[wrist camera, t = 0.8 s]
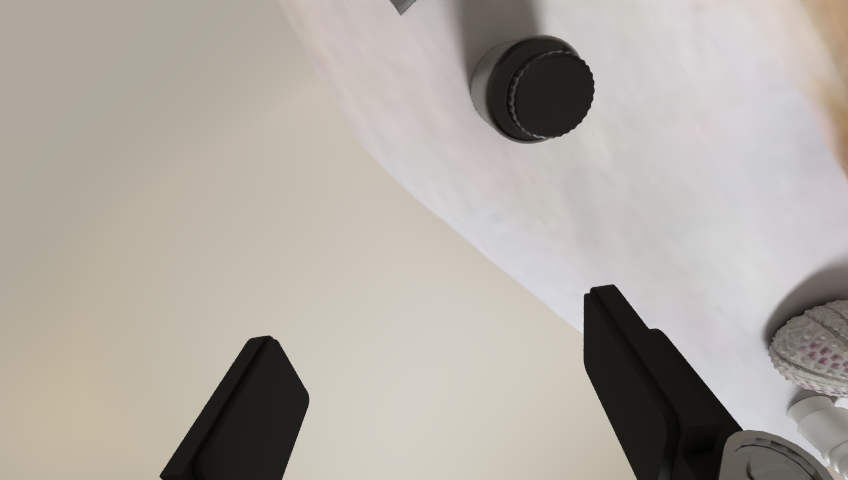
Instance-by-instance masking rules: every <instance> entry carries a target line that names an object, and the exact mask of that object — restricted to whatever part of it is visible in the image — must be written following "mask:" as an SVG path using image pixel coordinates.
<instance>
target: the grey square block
mask: <svg viewBox="0 0 848 480" xmlns="http://www.w3.org/2000/svg"><path fill="white" fill-rule="evenodd" d="M390 1H391V2H392V4H393V5H394V7H395V8H396V9H397V11H398V12H399V14H400V15H402V14H403V13H404V12H405V11H406V10H407V9H408V8H409V7H410V6H411V5H412V4H413V3H414V2H415V1H416V0H390Z"/></svg>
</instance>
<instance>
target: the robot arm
mask: <svg viewBox="0 0 848 480" xmlns="http://www.w3.org/2000/svg"><path fill="white" fill-rule="evenodd" d="M584 365H585V369H586V372H587V374H588V376H589V378H590V380H591V383H592V385H593V387H594V389H595V391H596V393H597V395H598V398H599V400H600V402H601V404H602V406H603V408H604V410H605V412H606V415H607V417H608V419H609V421H610V423H611V425H612V427H613V429H614V431H615V434H616V436H617V438H618V440H619V442H620V444H621V446H622V448H623V451H624V453H625V455H626V457H627V459H628V461H629V463H630V465H631V467H632V470H633V472H634V474H635V476H636V478H637V480H834V479H833V478H832V476H831V475H830V473H829V472H828V470H827V469H826V468H825V467H824V466H823V465H822V464H821V463H820V462H819V461H818V460H817V459H816V458H815V457H814V456H812V455H811V454H809V453H808V452H807V451H805V450H804V449H802V448H801V447H799V446H798V445H796V444H794V443H792V442H790V441H788V440H786V439H784V438H782V437H780V436H777V435H773V434H770V433H767V432H764V431H754V430H745V431H743V429H742V428H741V427H740V426H739V424H738V423H737V422H736V421H735V419H734V418H733V417H732V416H731V415H730V413H729V412H728V411H727V410H726V408H725V407H724V406H723V405H722V404H721V402H720V401H719V400H718V399H717V397H716V396H715V395H714V394H713V392H712V391H711V390H710V389H709V388H708V386H707V385H706V384H705V383H704V381H703V380H702V379H701V378H700V376H699V375H698V374H697V373H696V372H695V370H694V369H693V368H692V367H691V365H690V364H689V363H688V362H687V361H686V359H685V358H684V357H683V356H682V354H681V353H680V352H679V351H678V349H677V348H676V347H675V346H674V345H673V343H672V342H671V341H670V340H669V338H668V337H667V336H666V335H665V334H664V333H663V332H662V331H661V330H659V329H649V328H648V327H647V326H646V325H645V323H644V322H643V321H642V319H641V318H640V317H639V316H638V314H637V313H636V312H635V310H634V309H633V308H632V306H631V305H630V304H629V303H628V301H627V300H626V299H625V297H624V296H623V295H622V293H621V292H620V291H619V290H618V288H617V287H616V286H615V285H613V284H612V285H605V286H598V287H592V288H591V289H590V293H587V294H585V295H584ZM308 405H309V395H308V392H307V391H306V389H305V387H304V385H303V384H302V382H301V380H300V378H299V377H298V375H297V373H296V371H295V370H294V368H293V366H292V364H291V363H290V361H289V359H288V357H287V356H286V354H285V352H284V351H283V349H282V347H281V346H280V344H279V342H278V341H277V340H276V339H273V337H271V336H262V337H256V338H251V339H249V340H248V341H247V343H246V344H245V346H244V347H243V349H242V350H241V352H240V353H239V355H238V357H237V358H236V359H235V361H234V363H233V364H232V366H231V367H230V369H229V370H228V372H227V373H226V375H225V376H224V378H223V380H222V381H221V382H220V384H219V385H218V387H217V389H216V390H215V392H214V393H213V395H212V396H211V398H210V400H209V401H208V402H207V404H206V405H205V407H204V409H203V410H202V412H201V413H200V415H199V416H198V418H197V419H196V421H195V422H194V424H193V425H192V427H191V428H190V430H189V431H188V433H187V434H186V436H185V438H184V439H183V441H182V442H181V444H180V445H179V447H178V448H177V450H176V451H175V453H174V454H173V456H172V458H171V459H170V461H169V462H168V464H167V465H166V467H165V468H164V470H163V471H162V473H161V474H160V478H161V479H162V480H282V478H283V475H284V472H285V469H286V467H287V464H288V461H289V458H290V455H291V453H292V450H293V447H294V444H295V441H296V439H297V436H298V433H299V431H300V428H301V425H302V422H303V419H304V417H305V414H306V411H307V408H308Z"/></svg>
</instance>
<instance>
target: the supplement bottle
mask: <svg viewBox="0 0 848 480" xmlns="http://www.w3.org/2000/svg"><path fill="white" fill-rule="evenodd" d="M594 91H595V89H594V80H593V74H592V72H590V68H589V66H588V65H586V63H585V61H584V60H582V59H581V58H580V56H579V55H578V53H577V52H576V50H575V49H574V48H573V47H572V46H571V45H569V44H568V43H567V42H565V41H564V40H562V39H560V38H557V37H554V36H548V35H536V36H530V37H526V38H522V39H518V40H515V41H511V42H507V43H504V44H501V45H499V46H497V47H495V48H493V49H492V50H490V51H489V52H488V53H487V54H486V55H485V56H484V57H483V58H482V59H481V60H480V62H479V63H478V65H477V66H476V68H475V71H474V73H473V76H472V80H471V98H472V102H473V105H474V107H475V109H476V111H477V113H478V114H479V115H480V116H481V118H482V119H483V120H485V121H486V122H487V123H488V124H489V125H490V126H491V127H493V128H494V129H495V130H496V131H497V132H498V133H499V134H501V135H502V136H504V137H505V138H507V139H509V140H511V141H514V142H517V143H523V144H533V143H539V142H543V141H546V140H548V139H550V138H552V139H553V138H555V137H561V136H562V135H563V134H566V133H569V132H570V130H572V129H575V128H576V126H577V125H578V124H580V123H581V122H582V120H583V118H584V117H585V116H586V115H587V112H588V110H589V109H590V108H591V103H592V101H593V94H594Z"/></svg>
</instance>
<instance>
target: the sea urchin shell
mask: <svg viewBox="0 0 848 480" xmlns="http://www.w3.org/2000/svg"><path fill="white" fill-rule="evenodd" d="M772 339H773V341H774V342H772V343H771V345H770V346H769V348H770V349H769V350H770V353H769V354H768V355H769V356H770V357H771V358H772V359H771V362H772V363H773V364H774V368H775V369H777V370H778V371H779V372H780V374H781V375H783V376H785V379H786V380H790V381H792V382H793V383H794V384H796V385H800V386H802V387H803V388H804V389H809V390H814V391H816V392H818V393H819V394H820V393H825V394H828V395H829V396H837V397H844V398H848V299H847V300H844V301H842V300H836V301H835V302H827V303H826V305H823V306H815V307H814V308H812V309H811V310H805V312H804V314H803V315H801V316H798V317H793V318H792V319H791V320H790V321H787V323H786V325H785V326H783V327H781V328H780V330H777V333H775V337H773V338H772Z"/></svg>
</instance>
